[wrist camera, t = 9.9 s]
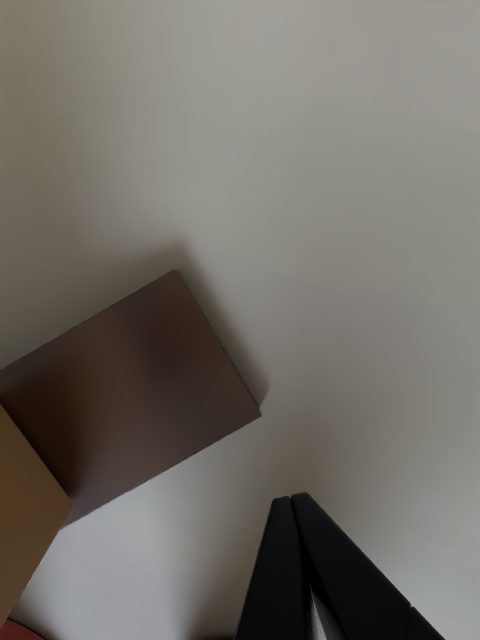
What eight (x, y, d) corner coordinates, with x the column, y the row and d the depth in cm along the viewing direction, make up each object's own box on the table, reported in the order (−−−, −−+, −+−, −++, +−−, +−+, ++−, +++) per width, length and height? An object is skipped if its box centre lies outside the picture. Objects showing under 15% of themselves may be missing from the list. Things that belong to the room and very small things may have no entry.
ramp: (179, 267, 19) (132, 285, 13) (263, 407, 20) (254, 480, 14) (-67, 413, 23) (-187, 476, 17) (16, 521, 25) (-69, 613, 19)
